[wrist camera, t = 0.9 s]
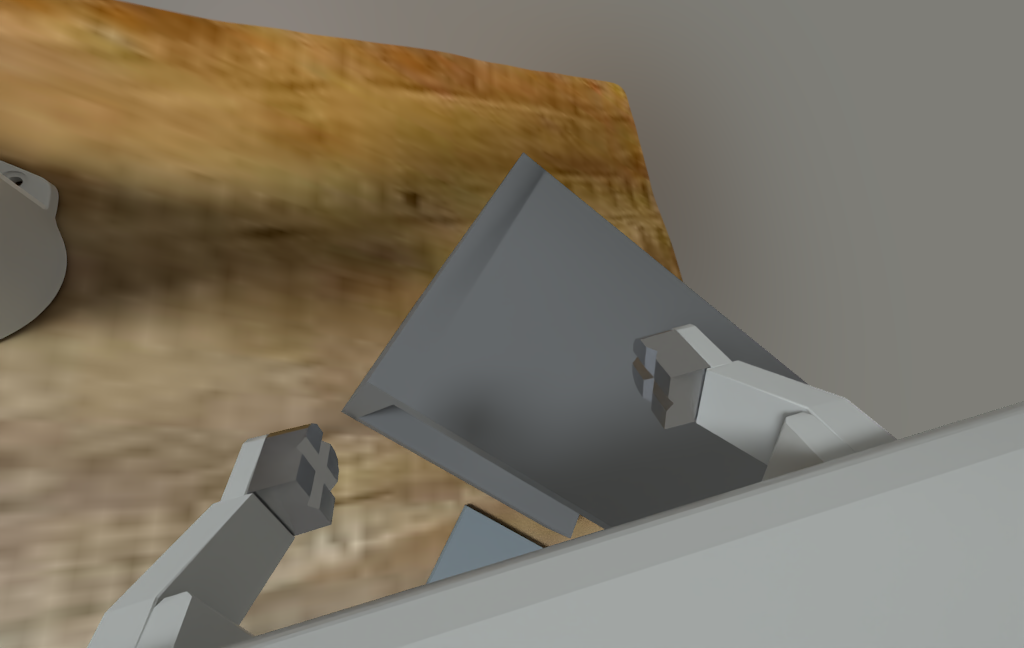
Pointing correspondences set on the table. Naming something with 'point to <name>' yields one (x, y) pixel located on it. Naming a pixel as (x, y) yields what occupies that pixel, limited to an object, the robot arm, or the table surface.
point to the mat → (478, 545)
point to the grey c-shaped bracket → (552, 367)
